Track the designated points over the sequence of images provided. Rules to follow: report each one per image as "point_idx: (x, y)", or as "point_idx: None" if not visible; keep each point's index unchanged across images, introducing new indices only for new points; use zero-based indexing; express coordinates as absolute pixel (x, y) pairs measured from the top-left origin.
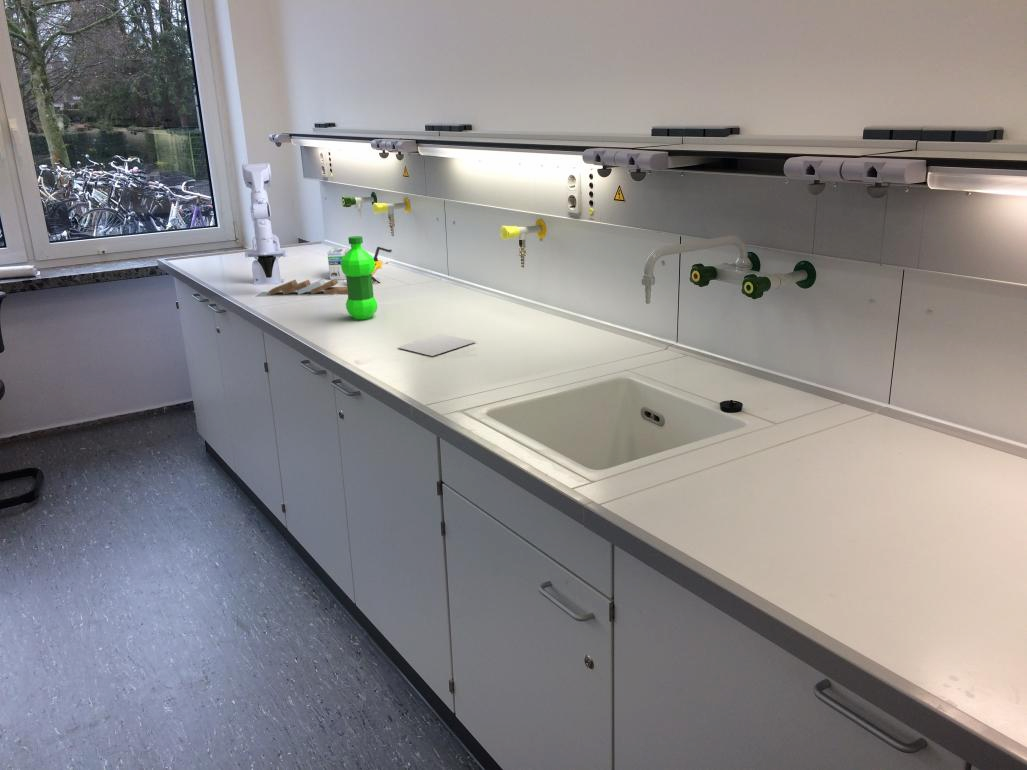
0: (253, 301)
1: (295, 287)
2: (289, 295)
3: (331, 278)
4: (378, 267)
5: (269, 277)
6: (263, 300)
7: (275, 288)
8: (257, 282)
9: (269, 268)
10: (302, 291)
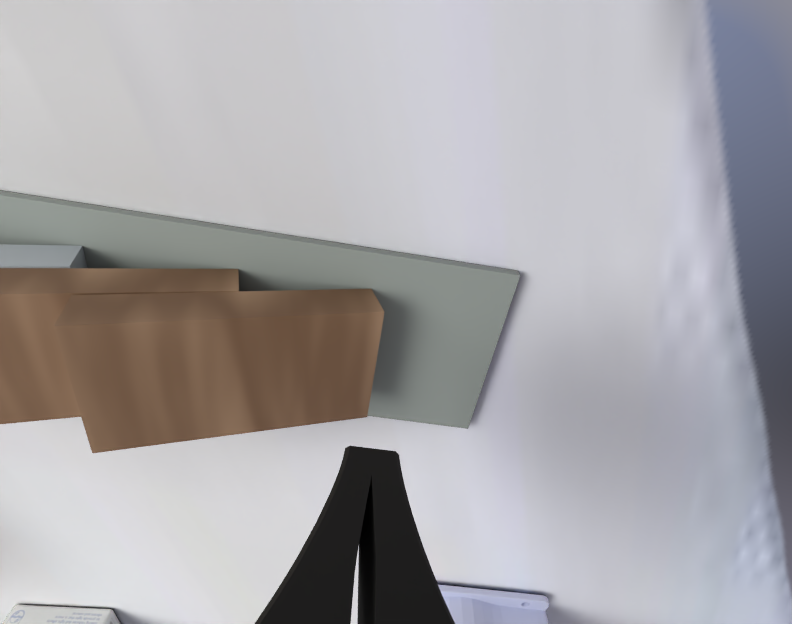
0: (527, 83)
1: (52, 285)
2: (170, 240)
3: (99, 618)
4: None
5: (353, 448)
6: (414, 112)
7: (300, 316)
8: (525, 615)
9: (302, 564)
10: (7, 251)
